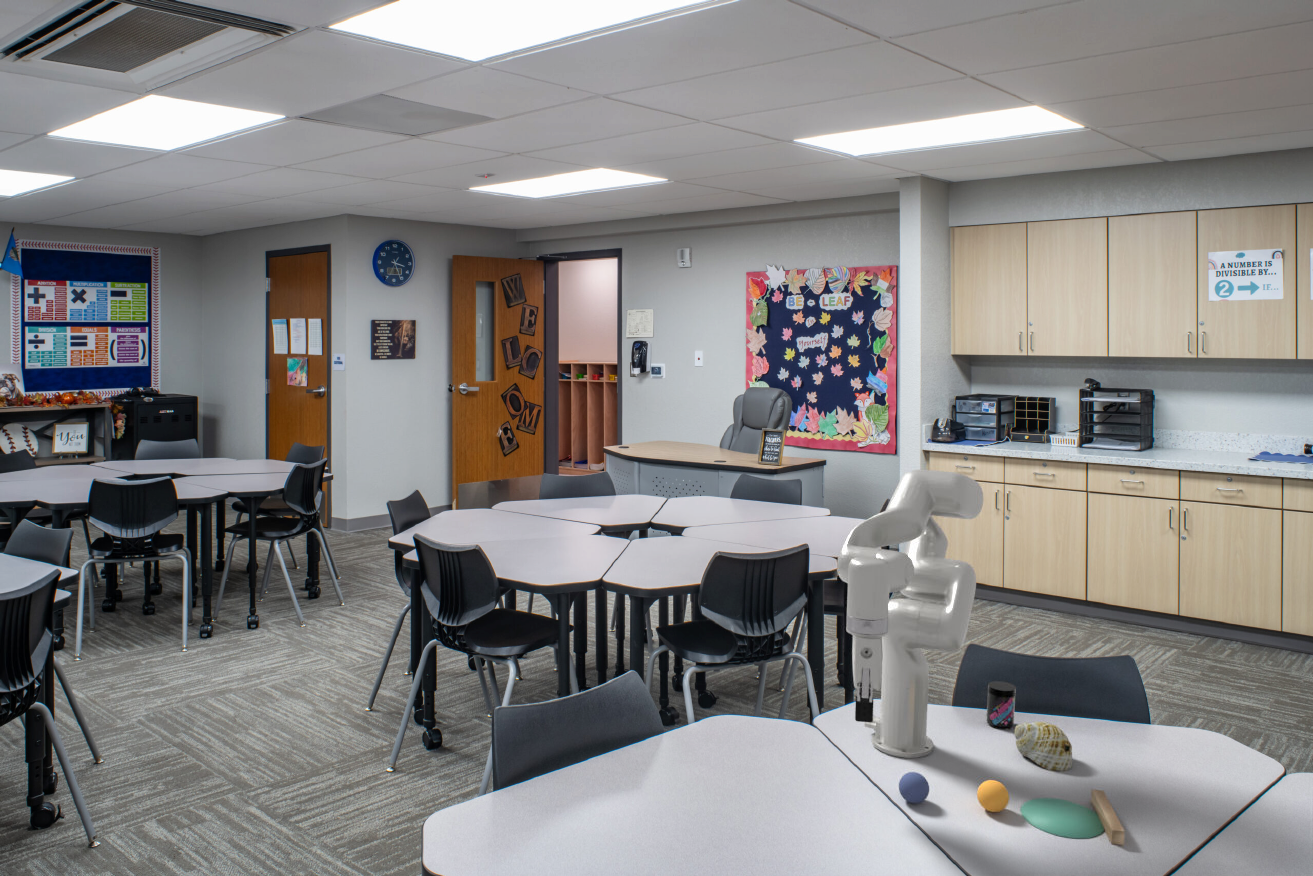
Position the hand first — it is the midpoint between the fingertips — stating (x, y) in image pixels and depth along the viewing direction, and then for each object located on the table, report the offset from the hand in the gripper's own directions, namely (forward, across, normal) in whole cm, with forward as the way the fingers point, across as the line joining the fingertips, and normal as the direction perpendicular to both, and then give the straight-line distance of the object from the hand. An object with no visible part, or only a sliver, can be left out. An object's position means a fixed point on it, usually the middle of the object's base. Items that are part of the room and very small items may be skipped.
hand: (863, 719), depth 177 cm
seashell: (+16, +25, -36) cm, 47 cm away
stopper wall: (+15, 0, -43) cm, 46 cm away
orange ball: (+12, 0, -24) cm, 27 cm away
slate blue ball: (+12, 0, -10) cm, 16 cm away
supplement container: (+15, +41, -30) cm, 53 cm away
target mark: (+15, 0, -36) cm, 39 cm away
